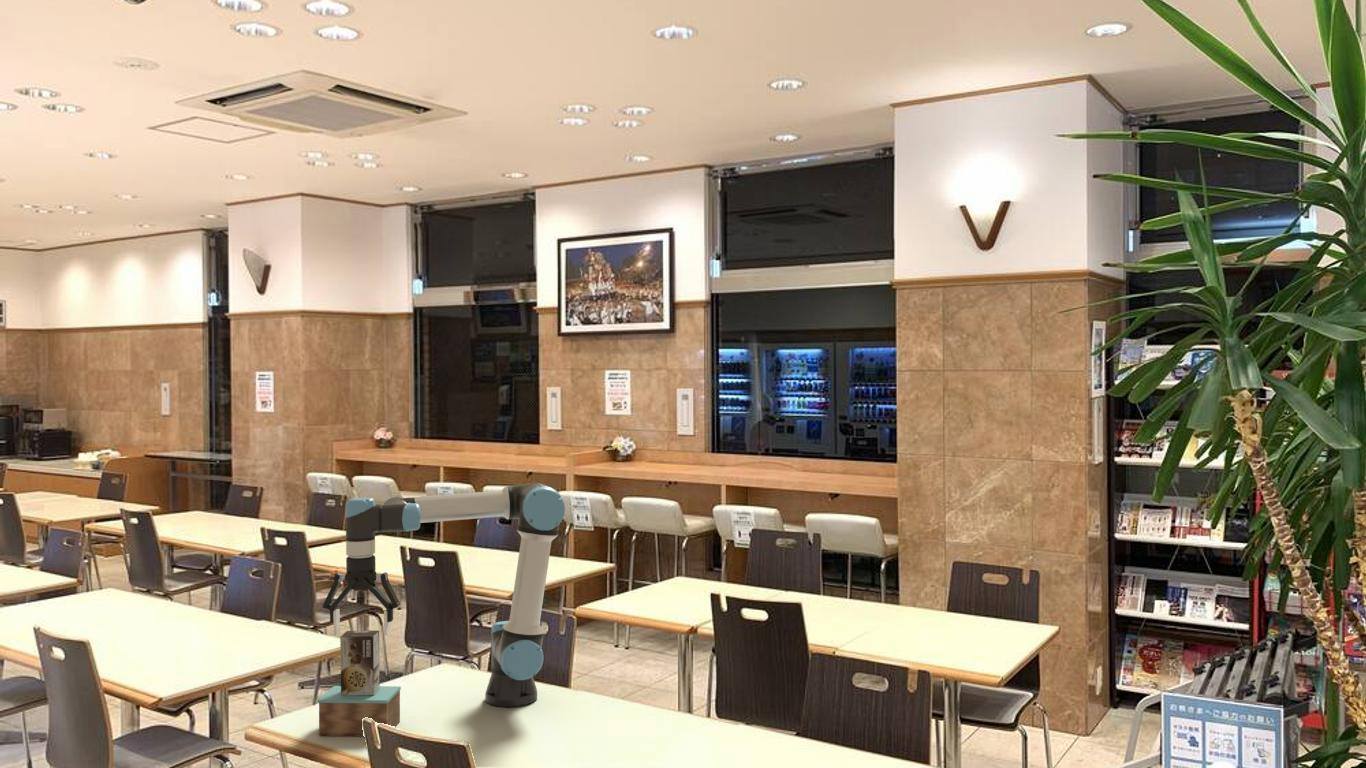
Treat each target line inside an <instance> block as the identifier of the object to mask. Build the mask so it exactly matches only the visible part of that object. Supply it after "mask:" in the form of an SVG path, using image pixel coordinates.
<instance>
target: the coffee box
mask: <svg viewBox="0 0 1366 768" xmlns="http://www.w3.org/2000/svg"><path fill="white" fill-rule="evenodd" d="M339 642H340V645H339V646H340V647H339V648H340V686H341V696H359V695H375V694H376V693H377V691H378V690H379V689H380V686H381V685H380V683H381V682H380V630H377V629H376V630H346V631H345V632H344V633H343V634H342V635H341V636H340V637H339Z"/></svg>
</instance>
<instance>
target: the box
mask: <svg viewBox="0 0 1366 768" xmlns="http://www.w3.org/2000/svg"><path fill="white" fill-rule="evenodd" d="M400 710H401V690H400V691H399V692H398V693H397V694H396V695H395V696H394V697H393V698H392V699H391V700H390V701H389V702H388V703H318V736H319V737H342V738H343V737H348V738H349V737H352V738H353V737H354V738H355V737H357V738H359V737H363V730H362V719H363V718H365V717H368V718H372V719H373V720H374V721H375V722H377V723H384V724H388V725H391V726H395V728H396V727H397V726H398V725H399V724H400V722H401V711H400ZM363 738H364V737H363Z"/></svg>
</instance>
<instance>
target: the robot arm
mask: <svg viewBox="0 0 1366 768" xmlns="http://www.w3.org/2000/svg"><path fill="white" fill-rule="evenodd" d="M565 514H566V505H565V501H564V498H563V497H562V496H561V494H560V492H558V491H557V490H556V489H555V488H553V487H551V486H549V485H546V484H545V483H540V482H530V483H529V482H528V483H525V484H517V485H510V486H504V487H503V488H502V489H501V490H493V491H492V490H491V491H489V490H488V491H478V492H467V493H466V492H465V493H455V494H454V493H451V494H449V493H448V494H439V495H438V494H437V495H427V496H425V495H424V496H415V497H399V496H395V497H390V498H389V499H388V498H387V500H386V501H385V502H384V503H383V504H376V501H375V499H374V498H373V497H369V496H368V497H365V496H364V497H353V498H349V499H348V500H347V501H346V503H345V554H346V556H347V557H346V558H345V561H346V563H345V564H346V565H345V566H346V567H345V568H346V569H345V570H346V574H345V573H342V572H338V573H336V574H334V576H333V584H332V585H331V587H330V589H329V592H328V594H327V595H326V597H325V600H324V602H323V603H322V604H323V605H322V608H323V609H325V610H326V609H327V610H329V622H330V623H333V636H338V635H339V634H340V633H341V622H340V621H341V620H340V619H341V615H340V614H341V613H340V612H341V611H340V608H338V607H339V606H340V604H341V603H342V602H343V600H344V599H346V597H347V596H348V594H350V592H351V591H352V590H353V591H355V592H356V591H368V590H369V592H371V593H372V594H373V595H374V596H375V598H376V599H377V600H378V601H379V602H380V603H381V605H382V606H383V607H384V608H385V609H384V610H383V635H384V636H387V635H389V634H390V633H391V631H390V630H391V622H393V620H394V609H397V608H398V607H400V605H401V602H400V601H399V598H398V597H397V595H396V593H395V591H394V589H393V587H392V585H391V582H390V581H389V575H388V573H387V572H383V573H378V574H377V572H376V555H374V554H376V534H377V533H379V534H380V533H390V532H391V533H393V532H394V533H395V532H406V533H409V532H412V531H418V530H419V529H420V528H421V524H422V523H435V522H450V521H460V520H461V521H462V520H473V519H485V518H486V519H487V518H499V517H503V518H505V519H506V520H518V521H517V529H516V531H517V533H518V534H519V535H520V537H521V538H520V545H519V551H518V560H517V567H516V573H515V580H514V584H513V585H514V587H513V593H512V600H511V605H510V606H511V607H510V614H509V619H508V620H503V621H497V622H494V623H493V624H492V626H491V632H490V635H491V675H490V678H489V680H488V683H487V687H486V690H485V697H484V699H485V702H486V703H487V704H488V705H491V706H495V707H500V708H501V707H502V708H504V707H505V708H510V707H511V708H513V707H521V706H526V705H530V704H533V703H534V702H536V701H537V700H538V689H537V685H536V682H535V680H534V676H536V675H537V674H538V673H539V672H540V670H541V669H542V667H543V664H544V651H543V649H542V647H543V642H544V641H543V639H544V633H545V630H544V629H543V627H542V626H541V617H542V609H543V603H544V596H545V589H546V582H547V575H548V568H549V560H550V553H551V550H552V549H551V548H552V542H553V541H554V540H555V539H556V538H557V537H558V536H559V530H560V524H561V523H562V521H563V519H564V517H565ZM344 580H345V582H346V583H347V585H346V586H345V588H344V589H343V591H342V592H341V593H340V594H339V595H338V597H336V599H335V600H334V598H335V595H336V594H337V592H338V590H339V587H340V585H341V583H342V582H343V581H344ZM377 580H378V582H380V583H381V585H382V588H383V589H384V591H385V593H386V595H385V593H383V592H382V590H381V589H380V588H379V586H378V584H376V583H375V582H376V581H377ZM333 600H334V602H333ZM332 602H333V603H332ZM536 699H537V700H536ZM535 700H536V701H535ZM532 702H533V703H532ZM529 703H530V704H529Z"/></svg>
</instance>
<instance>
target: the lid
mask: <svg viewBox="0 0 1366 768" xmlns="http://www.w3.org/2000/svg"><path fill="white" fill-rule="evenodd" d="M399 691H400V692H401V686H399V685H398V686H394V685H393V686H392V685H391V686H386V685H385V686H383V685H380V689H379V690H378V691H377V693H376V694H375V695H359V696H341V685H334V686H332V687H331V688H330V689H329V690H327V691H326V692H325V693H324V694H322V695H321V696H320V697H319V698H318V699H317V703H318V704H319V703H388V702H389V701H390V700H391V699H392V698H393V697H394V696H395V695H396V694H397V693H398V692H399Z"/></svg>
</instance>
